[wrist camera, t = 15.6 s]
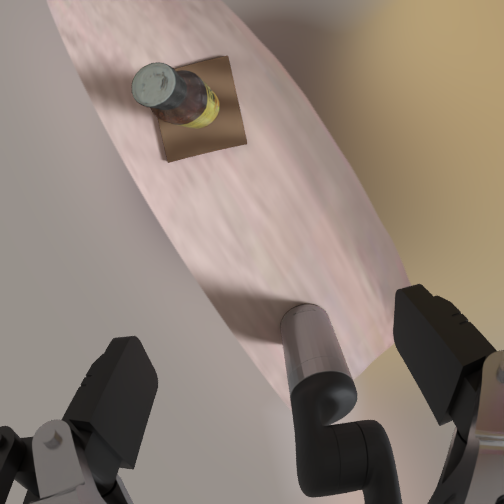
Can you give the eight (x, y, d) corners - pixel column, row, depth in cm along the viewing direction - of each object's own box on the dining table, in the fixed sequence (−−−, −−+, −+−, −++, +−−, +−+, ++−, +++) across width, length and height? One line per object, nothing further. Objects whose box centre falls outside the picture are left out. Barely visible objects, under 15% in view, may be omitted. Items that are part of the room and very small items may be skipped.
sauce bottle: (229, 102, 39) (212, 74, 20) (204, 137, 40) (167, 136, 22) (193, 79, 37) (150, 39, 19) (168, 113, 39) (108, 100, 21)
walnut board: (247, 143, 42) (247, 144, 41) (170, 162, 43) (168, 162, 42) (228, 57, 37) (227, 55, 36) (151, 78, 38) (149, 77, 37)
